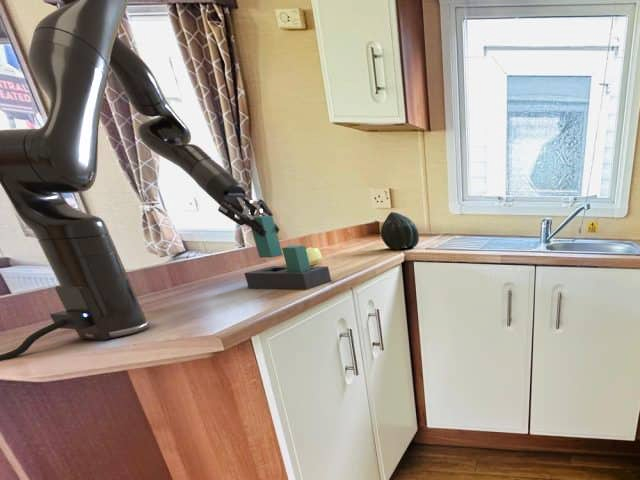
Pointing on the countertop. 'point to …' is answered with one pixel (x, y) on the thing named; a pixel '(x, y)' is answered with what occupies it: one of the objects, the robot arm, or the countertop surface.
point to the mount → (287, 278)
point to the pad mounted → (296, 258)
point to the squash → (399, 232)
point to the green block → (267, 238)
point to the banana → (312, 256)
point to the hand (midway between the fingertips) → (270, 232)
